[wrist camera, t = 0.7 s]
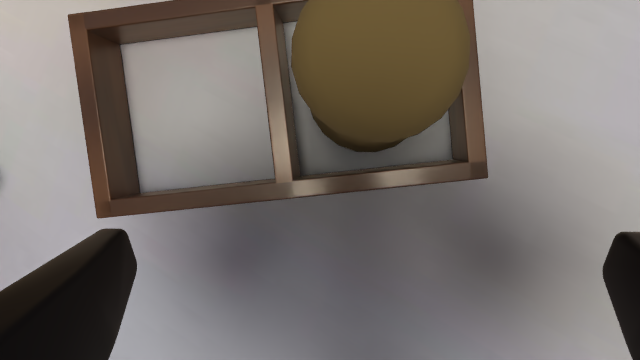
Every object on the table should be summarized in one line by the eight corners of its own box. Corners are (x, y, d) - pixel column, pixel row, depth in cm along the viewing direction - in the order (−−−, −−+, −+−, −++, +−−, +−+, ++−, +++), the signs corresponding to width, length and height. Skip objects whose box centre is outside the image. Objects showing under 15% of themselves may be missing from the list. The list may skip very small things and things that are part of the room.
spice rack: (470, 173, 23) (488, 178, 20) (127, 209, 24) (96, 218, 21) (453, -17, 22) (469, -42, 19) (102, 30, 24) (66, 14, 21)
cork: (339, 172, 23) (328, 196, 12) (286, 63, 23) (228, -11, 12) (450, 119, 23) (541, 95, 12) (397, 6, 23) (440, -124, 12)
